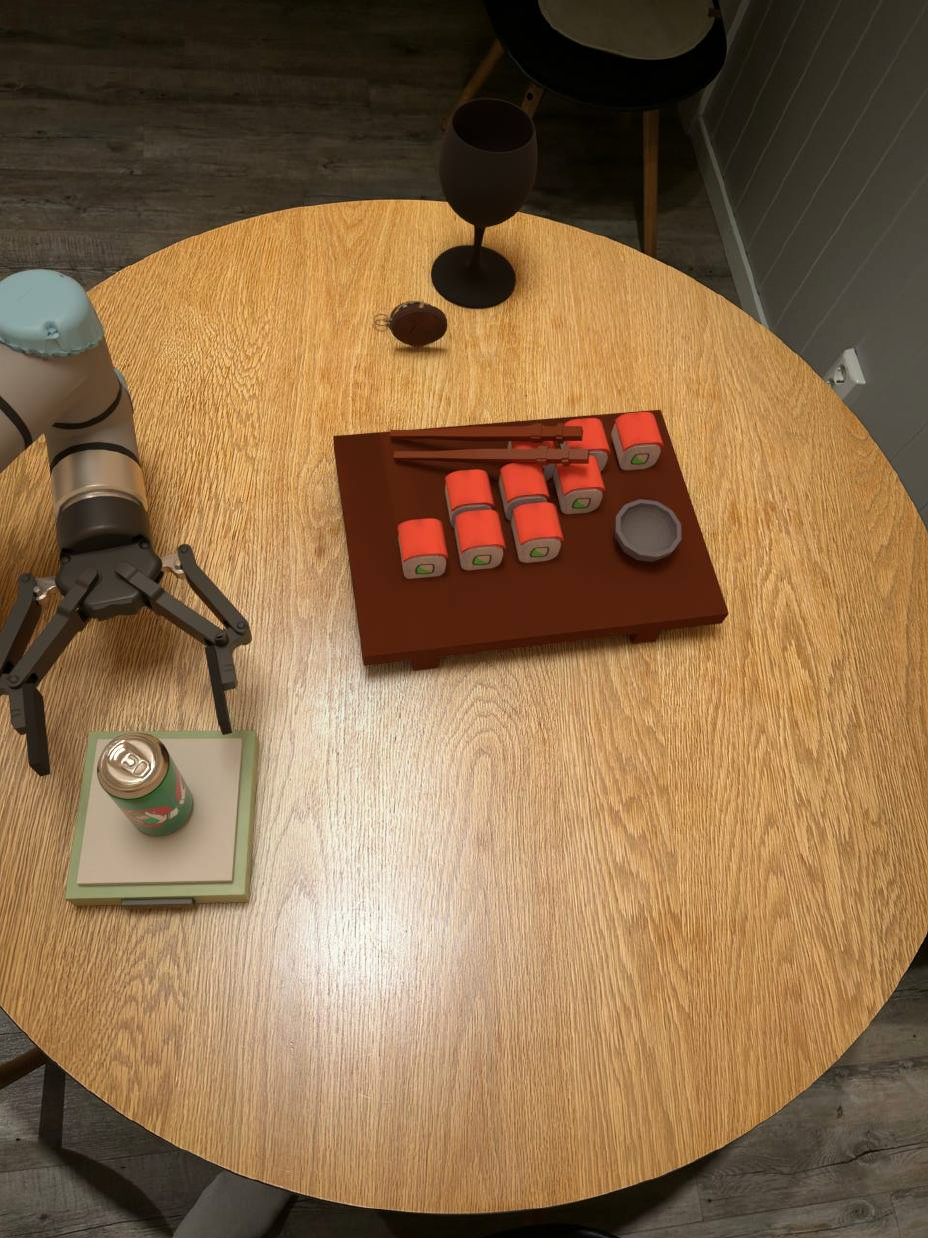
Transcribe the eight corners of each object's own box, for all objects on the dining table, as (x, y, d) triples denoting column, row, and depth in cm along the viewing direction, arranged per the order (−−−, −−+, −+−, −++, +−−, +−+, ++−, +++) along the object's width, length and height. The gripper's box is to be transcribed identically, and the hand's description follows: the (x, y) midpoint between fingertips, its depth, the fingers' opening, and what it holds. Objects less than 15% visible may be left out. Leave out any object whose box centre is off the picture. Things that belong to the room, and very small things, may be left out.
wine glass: (412, 270, 113) (421, 116, 95) (475, 234, 117) (495, 79, 99) (470, 322, 110) (490, 172, 92) (533, 283, 114) (564, 133, 96)
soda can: (158, 767, 78) (125, 714, 68) (206, 798, 78) (181, 750, 67) (117, 817, 76) (77, 771, 66) (167, 850, 75) (134, 809, 65)
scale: (73, 912, 76) (60, 903, 73) (98, 743, 83) (86, 727, 79) (248, 908, 78) (243, 899, 74) (259, 742, 84) (254, 727, 81)
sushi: (334, 462, 99) (330, 385, 88) (649, 436, 104) (681, 360, 94) (363, 677, 88) (363, 618, 77) (713, 634, 94) (757, 574, 83)
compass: (440, 305, 111) (444, 256, 104) (444, 357, 107) (449, 309, 101) (372, 304, 110) (372, 255, 103) (374, 356, 106) (374, 308, 100)
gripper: (254, 515, 86) (301, 728, 77) (-37, 568, 80) (-23, 803, 72) (245, 466, 79) (295, 693, 70) (-74, 520, 74) (-63, 772, 65)
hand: (134, 749), depth 71 cm, fingers open, 13 cm apart
